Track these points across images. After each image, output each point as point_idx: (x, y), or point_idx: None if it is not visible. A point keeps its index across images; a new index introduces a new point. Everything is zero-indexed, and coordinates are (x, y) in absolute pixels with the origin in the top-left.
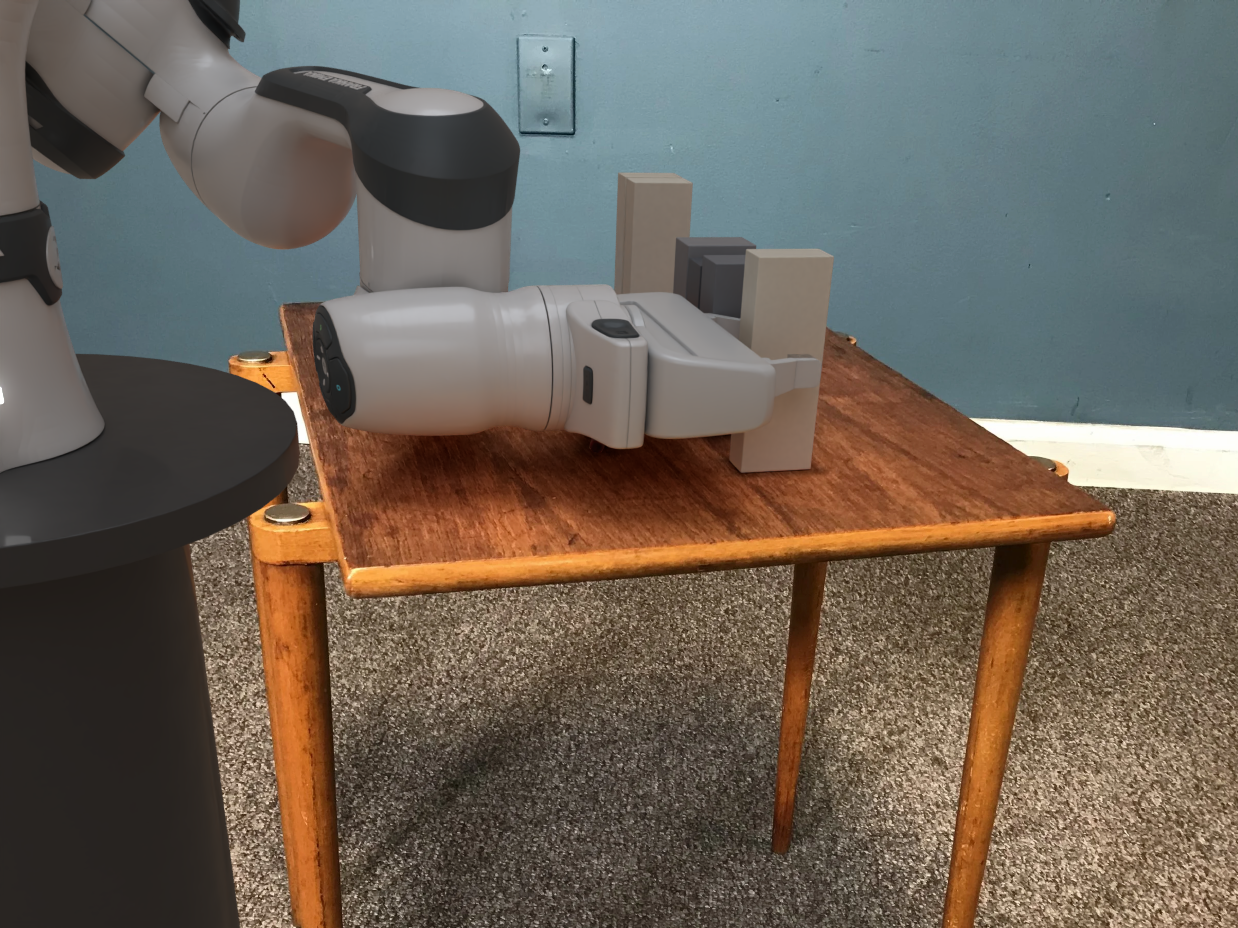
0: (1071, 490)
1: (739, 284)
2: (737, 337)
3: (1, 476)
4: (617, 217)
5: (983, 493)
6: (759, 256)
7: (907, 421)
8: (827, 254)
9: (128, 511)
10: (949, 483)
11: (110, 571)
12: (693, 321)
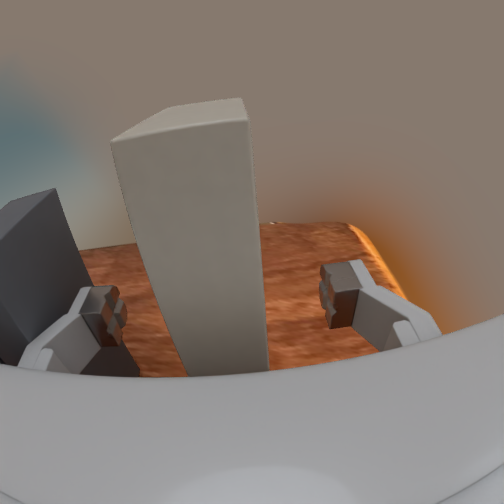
0: (311, 223)
1: (25, 264)
2: (91, 339)
3: None
4: None
5: (324, 259)
6: (239, 117)
7: None
8: (224, 99)
9: None
10: (303, 272)
11: None
12: (139, 439)
